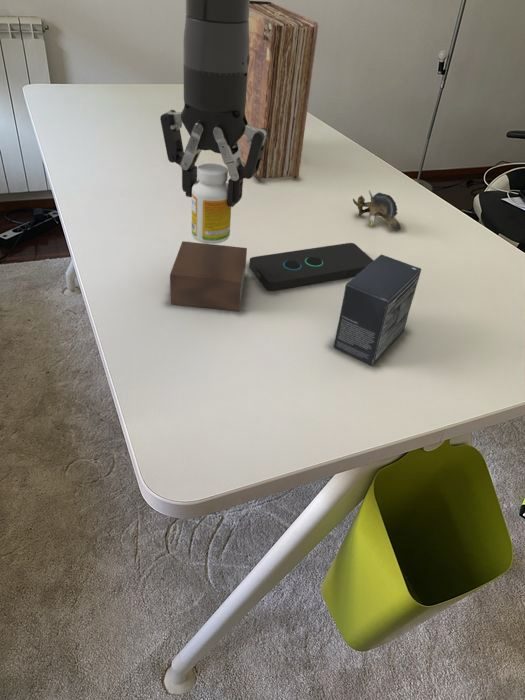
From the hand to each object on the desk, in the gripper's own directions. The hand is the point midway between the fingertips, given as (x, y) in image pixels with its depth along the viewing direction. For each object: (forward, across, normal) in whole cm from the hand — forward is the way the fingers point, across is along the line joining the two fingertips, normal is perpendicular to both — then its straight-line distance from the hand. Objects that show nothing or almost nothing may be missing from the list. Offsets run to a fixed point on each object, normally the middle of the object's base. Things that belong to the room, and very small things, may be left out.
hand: (211, 199), depth 75 cm
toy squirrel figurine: (+15, +20, +36) cm, 44 cm away
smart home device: (+15, +13, +13) cm, 24 cm away
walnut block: (+15, 0, 0) cm, 15 cm away
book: (+15, -11, +56) cm, 59 cm away
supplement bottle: (+6, 0, 0) cm, 6 cm away
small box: (+15, +25, -2) cm, 29 cm away
